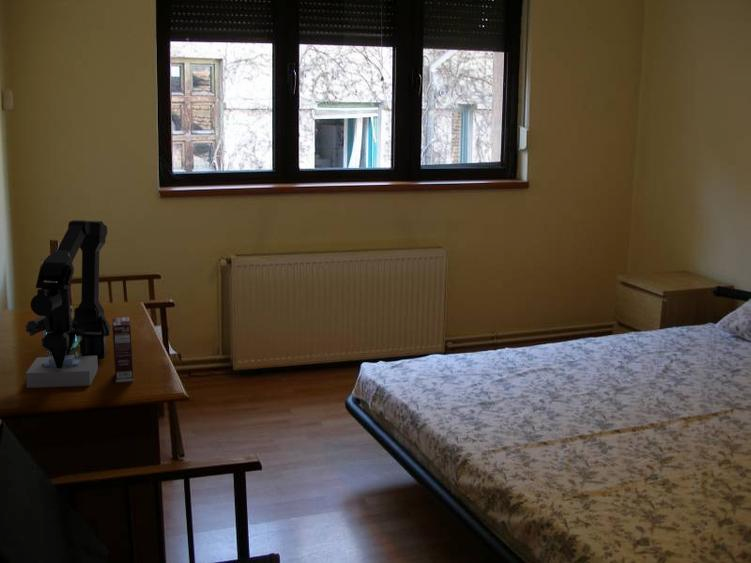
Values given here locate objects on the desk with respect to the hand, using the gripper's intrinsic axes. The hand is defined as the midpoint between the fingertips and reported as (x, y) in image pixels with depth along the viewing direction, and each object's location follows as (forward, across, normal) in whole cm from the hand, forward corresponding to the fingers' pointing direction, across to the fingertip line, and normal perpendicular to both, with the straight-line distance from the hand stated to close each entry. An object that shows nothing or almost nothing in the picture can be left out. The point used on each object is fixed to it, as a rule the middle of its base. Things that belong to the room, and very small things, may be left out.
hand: (62, 363), depth 241 cm
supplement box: (+4, +1, +16) cm, 17 cm away
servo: (+4, 0, 0) cm, 4 cm away
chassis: (+4, 0, 0) cm, 4 cm away
